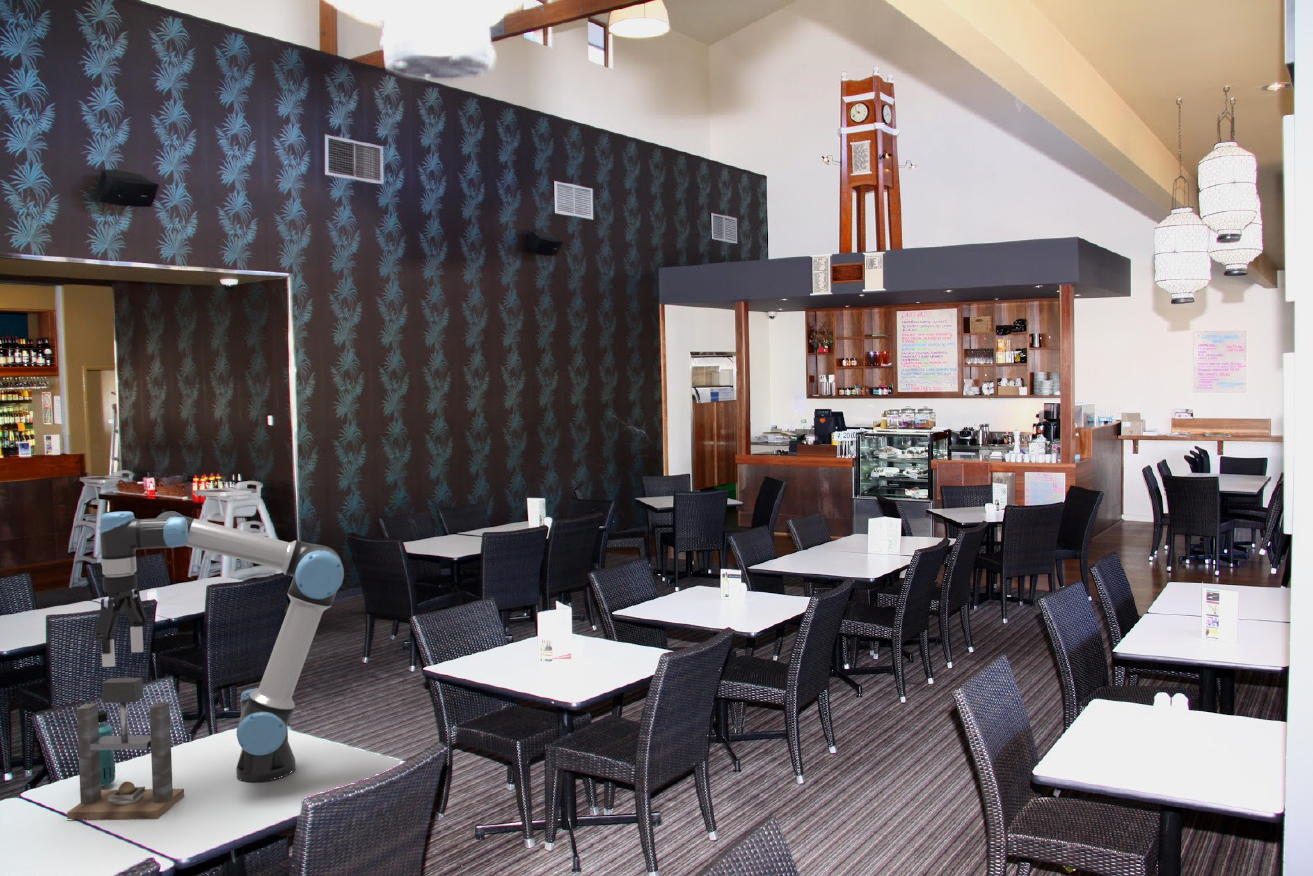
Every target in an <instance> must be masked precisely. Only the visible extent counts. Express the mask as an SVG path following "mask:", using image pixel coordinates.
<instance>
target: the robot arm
mask: <svg viewBox="0 0 1313 876" xmlns="http://www.w3.org/2000/svg"><path fill="white" fill-rule="evenodd" d="M99 530H100V532H99V535H100V536H99V537H100V538H99V539H100V548H101V549H100V552H101V562H100V565H101V567H102V570H101V571H102V572H101V573H102V575H104V576H103V577H102V590H103V592H104V593H108V598H101V599H100V610H99V615H98V621H97V625H96V628H95V629H96V631H95V634H94V639H95V640H96V641H99V642H100V643H101V644H100V645H101V647H100V648H101V665H102V667H103V668H107V667H109V668H110V667H111V668H112V667H115V666H116V655H115V639H113V635H114V633H115V631H116V627H117V624H118V621H119V618H120V616H122V614H123V613H124V614H125V616H126V617H127V619H128V621H130V624H131V627H130V628H129V629H130V630H129V631H130V650H131V653H143V652H144V638H143V631H144V630H143V626H144V627H145V626H147V624H148V623H147V621H148V617H147V613H146V610H145V607H144V604H143V601H142V598H141V595H140V593H141V592H140V588H137V587H138V577H137V576H138V575H137V574H136V572H137V568H138V567H137V555H136V553H137V552H136V550H144V549H146V550H147V549H164V548H165V549H166V548H168V549H169V548H171V549H174V548H178V547H188V548H192V549H196V550H201V551H205V552H209V553H212V554H213V553H214V554H217V555H222V556H224V557H229V558H233V559H237V560H242V561H244V562H245V561H246V562H249V563H252V564H257V565H262V566H265V567H269V568H274V569H277V570H280V571H282V573H283V575H285V576H290V577H293V578H292V581H291V583H290V586H289V588H288V591H287V596H288V598H289V600H290V602H289V604H288V608H287V610H286V614H285V616H284V619H283V622H282V624H281V628H280V630H279V633H278V635H277V637H276V640H275V643H274V645H273V649H272V652H271V654H270V657H269V659H268V663H267V666H265V667H266V668H265V670H264V673H263V676H262V678H261V681H260V684H259V687H256V688H250V689H247V690H244V691H243V692H242V693H241V694H240V700H239V702H240V709H241V711H240V718H239V722H238V725H237V727H236V738H237V741H238V744H239V746H240V747H241V751H240V753H239V758H238V761H237V764H236V769H235V772H236V773H235V774H236V775H237V776H236V778H237V779H238V778H239V779H238V780H240V779H241V780H240V781H242V780H243V781H244V782H247V783H248V782H249V783H257V782H258V783H259V782H260V783H261V781H262V782H269V781H272V780H271V779H274V778H278V779H280V778H279V777H281V776H284V775H286V774H289V773H290V772H291V771H293V770H294V769H295V767H296V766H297V765H296V763H297V762H296V757H295V755H294V753H293V750H292V748H291V745H290V742H289V735H288V733H289V731H288V729H289V728H288V725H289V723H290V720H291V718H292V715H293V712H294V708H295V706H296V704H295V702H294V700H293V698H292V697H293V695H294V692H295V689H296V687H297V683H298V681H299V678H300V675H301V674H302V669H303V667H304V664H305V662H306V660H307V656H308V653H309V651H310V648H311V645H312V643H313V639H314V637H315V635H316V632H317V630H318V626H319V623H320V621H321V618H322V615H323V613H324V612H325V611H326V610H328V609H329V608H331V607H332V605H333V603H334V600H335V597H336V594H337V592H338V590H339V589H340V587H342V584H343V581H344V576H345V572H344V571H345V570H344V565H343V563H342V560H341V556H340V555H339V554H338V552H337V551H336V550H334V549H333V548H331V547H329V546H326V545H322V544H315V543H309V542H305V541H299V540H295V539H294V540H293V541H290V542H288V541H284V540H281V539H278V538H272V537H268V536H265V535H261V534H257V533H253V532H249V531H244V530H241V529H237V528H233V527H229V526H225V525H221V524H217V523H214V522H209V521H206V520H202V519H198V518H193V517H189V516H186V515H182V514H181V513H179V512H176V511H172V510H171V511H164V512H162V513H160V514H159V515H158V516H156V517H155V518H154V517H153V518H144V519H142V518H136V517H135V514H134V512H132V511H128V510H127V511H113V512H106V513H104V514H102V515H101V516H100V529H99ZM296 768H297V767H296ZM295 770H296V769H295ZM295 770H294V771H295ZM294 771H293V772H294ZM289 775H290V774H289ZM284 777H285V776H284ZM281 778H282V777H281ZM268 780H269V781H268ZM274 780H275V779H274ZM243 781H242V782H243Z"/></svg>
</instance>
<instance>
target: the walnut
mask: <svg viewBox="0 0 1313 876" xmlns="http://www.w3.org/2000/svg"><path fill="white" fill-rule="evenodd" d="M135 787H136V786H135V784H134V783H133V782H131V781H124V782H122V783H121V784H120V785H119V787H118V789H119V794H120V795H131V794H133V792H134V790H135Z"/></svg>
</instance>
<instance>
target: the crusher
mask: <svg viewBox="0 0 1313 876" xmlns="http://www.w3.org/2000/svg"><path fill="white" fill-rule="evenodd" d="M143 681H144V680H143V677H115V678H114V677H110V678H108V679H107V680H105V681H102V682H101V690H102V691H101V694H102V703H103V704H105V703H106V704H107V703H109V704H112V703H113V704H114V703H115V704H116V703H117V704H119V715H120V716H119V720H120V721H119V722H120V735H113V736H103V737H101V738H99V739H98V740H96V741H95V742H93V743H91V744H90V750H114V751H120V750H121V751H123V750H125V751H129V750H148V749H149V748H150V749H151V734H149V735H148V734H147V735H145V734H144V735H140V734H139V735H129V725H128V723H129V721H128V718H129V717H128V703H137V702H138V701H139V700H141V699H144V685H143V684H144V683H143Z"/></svg>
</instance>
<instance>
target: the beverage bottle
mask: <svg viewBox="0 0 1313 876" xmlns="http://www.w3.org/2000/svg"><path fill="white" fill-rule="evenodd" d="M108 720H109V717H108V712H107V711H98V723H99V738H101V737H103V736H114V734H113V733H114V732H113V731H114V727H113V726H112V725H111V724H109V723H106V721H108ZM100 772H101V787H102V786H107V785H110V784H112V783H114V782H115V779H116V763H115V750H100Z"/></svg>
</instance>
